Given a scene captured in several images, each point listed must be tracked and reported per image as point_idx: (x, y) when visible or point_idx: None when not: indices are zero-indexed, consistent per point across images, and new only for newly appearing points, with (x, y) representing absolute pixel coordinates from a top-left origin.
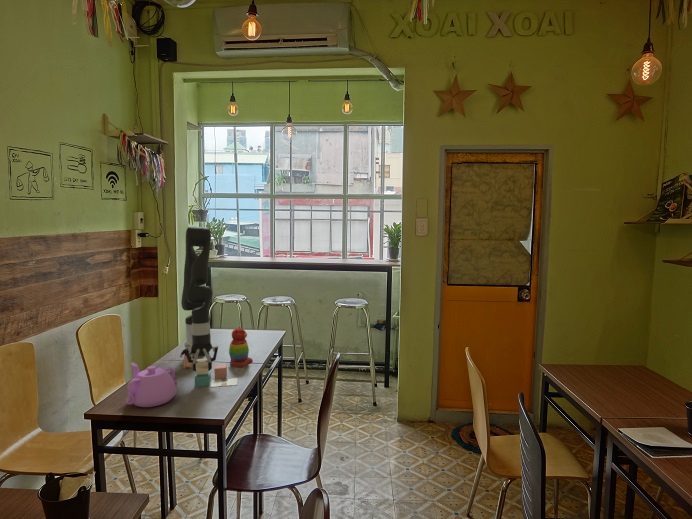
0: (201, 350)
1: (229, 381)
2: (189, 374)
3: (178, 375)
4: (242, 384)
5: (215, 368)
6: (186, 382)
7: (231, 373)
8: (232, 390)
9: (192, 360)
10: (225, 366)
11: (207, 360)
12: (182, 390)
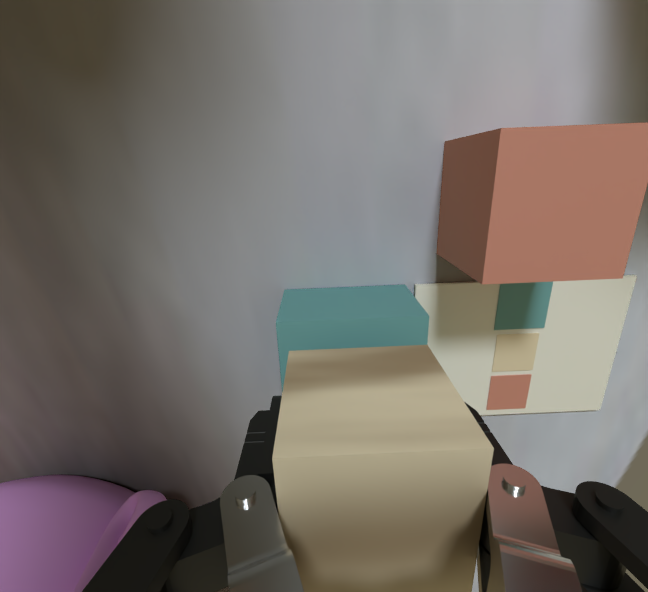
0: None
1: (556, 339)
2: (152, 37)
3: (33, 48)
4: (636, 400)
5: (496, 281)
6: (196, 284)
7: (608, 107)
8: (549, 481)
9: (220, 586)
10: (627, 225)
11: (466, 533)
12: (216, 435)
